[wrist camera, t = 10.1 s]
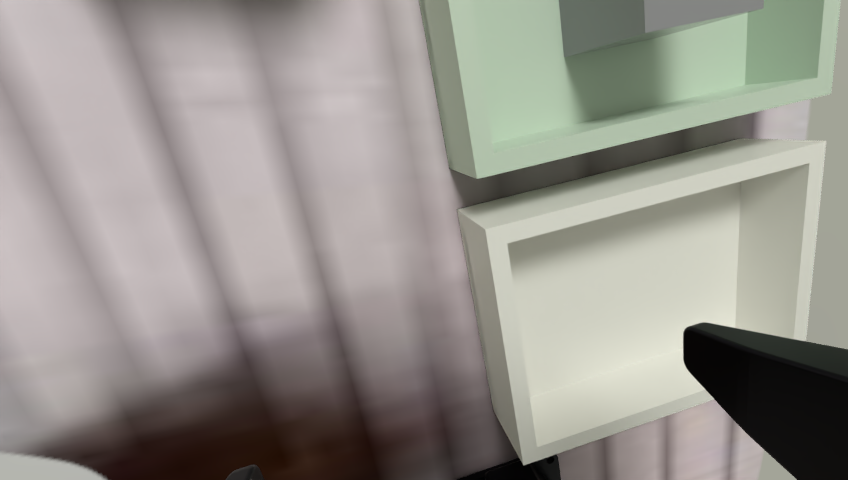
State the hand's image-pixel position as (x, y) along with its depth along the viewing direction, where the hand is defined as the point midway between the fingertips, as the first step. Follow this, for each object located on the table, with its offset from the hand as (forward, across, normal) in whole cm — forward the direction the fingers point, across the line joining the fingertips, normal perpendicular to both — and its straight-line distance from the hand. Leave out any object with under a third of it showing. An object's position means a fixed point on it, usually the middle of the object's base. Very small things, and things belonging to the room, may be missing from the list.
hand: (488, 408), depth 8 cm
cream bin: (+12, -11, +5) cm, 17 cm away
